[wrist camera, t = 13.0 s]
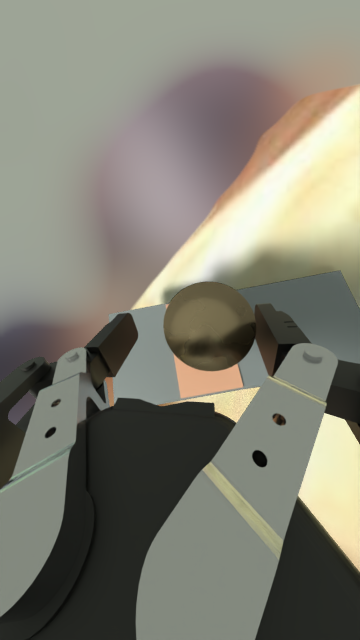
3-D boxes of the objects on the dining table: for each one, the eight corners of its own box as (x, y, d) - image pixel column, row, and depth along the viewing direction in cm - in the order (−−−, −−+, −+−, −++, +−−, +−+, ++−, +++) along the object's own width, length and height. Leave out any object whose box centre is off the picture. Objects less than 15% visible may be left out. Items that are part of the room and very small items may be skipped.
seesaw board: (330, 276, 19) (341, 269, 17) (372, 363, 16) (389, 363, 15) (113, 317, 19) (107, 313, 18) (120, 408, 17) (113, 412, 15)
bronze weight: (215, 319, 17) (241, 274, 8) (225, 362, 16) (268, 361, 7) (174, 327, 17) (157, 290, 8) (181, 370, 16) (170, 379, 7)
